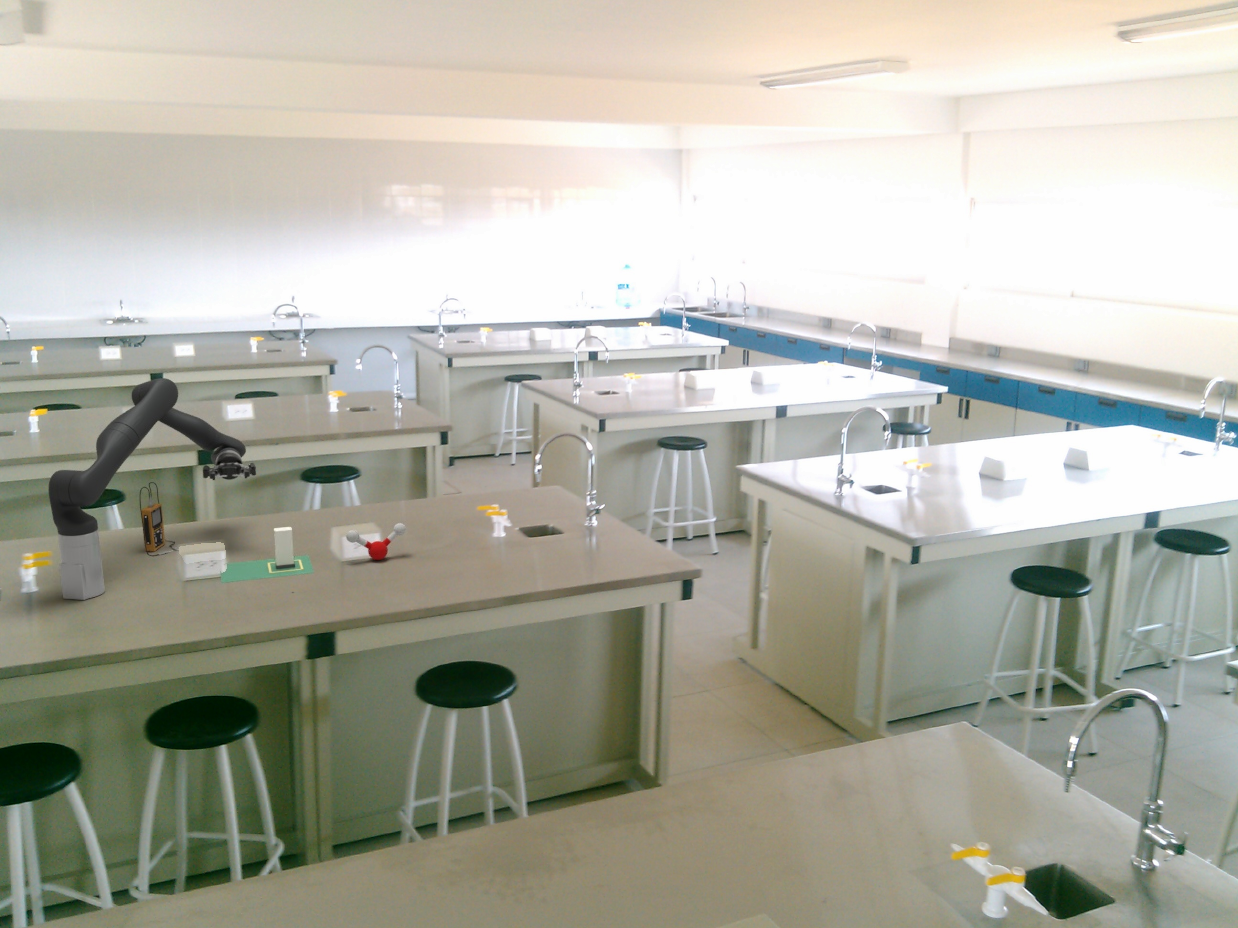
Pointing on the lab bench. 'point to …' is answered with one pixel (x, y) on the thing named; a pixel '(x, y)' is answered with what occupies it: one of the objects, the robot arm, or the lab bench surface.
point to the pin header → (285, 566)
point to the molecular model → (377, 548)
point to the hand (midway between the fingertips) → (229, 475)
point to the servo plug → (283, 546)
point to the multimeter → (153, 525)
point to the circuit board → (264, 569)
